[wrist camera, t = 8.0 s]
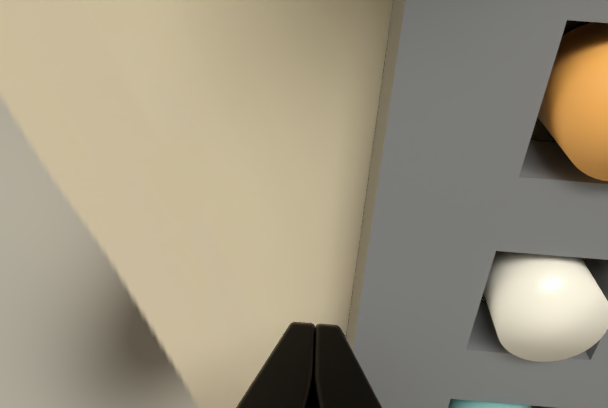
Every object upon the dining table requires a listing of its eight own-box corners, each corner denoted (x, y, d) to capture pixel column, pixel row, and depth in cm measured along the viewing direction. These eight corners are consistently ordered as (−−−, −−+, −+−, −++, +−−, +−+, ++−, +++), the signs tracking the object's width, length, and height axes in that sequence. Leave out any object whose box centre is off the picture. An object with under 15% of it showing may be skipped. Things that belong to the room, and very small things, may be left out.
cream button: (590, 230, 22) (628, 286, 19) (559, 305, 24) (589, 366, 21) (489, 222, 22) (512, 277, 19) (468, 297, 24) (485, 357, 21)
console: (860, -32, 17) (952, -12, 14) (593, 446, 30) (617, 501, 27) (402, -65, 17) (413, -51, 15) (334, 424, 30) (333, 476, 27)
